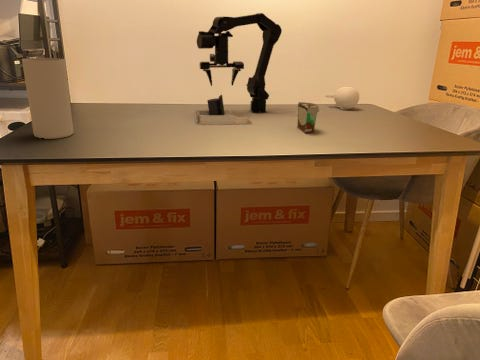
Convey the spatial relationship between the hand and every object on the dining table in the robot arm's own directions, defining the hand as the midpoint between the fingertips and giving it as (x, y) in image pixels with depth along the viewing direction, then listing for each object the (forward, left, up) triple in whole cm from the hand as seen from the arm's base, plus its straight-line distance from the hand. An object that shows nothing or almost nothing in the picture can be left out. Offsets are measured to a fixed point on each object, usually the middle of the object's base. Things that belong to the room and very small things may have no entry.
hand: (221, 85), depth 175 cm
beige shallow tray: (+1, +15, -13) cm, 19 cm away
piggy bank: (-64, -15, -13) cm, 67 cm away
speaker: (+4, +15, -12) cm, 20 cm away
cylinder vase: (+62, +36, -13) cm, 73 cm away
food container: (-30, +33, -13) cm, 46 cm away
